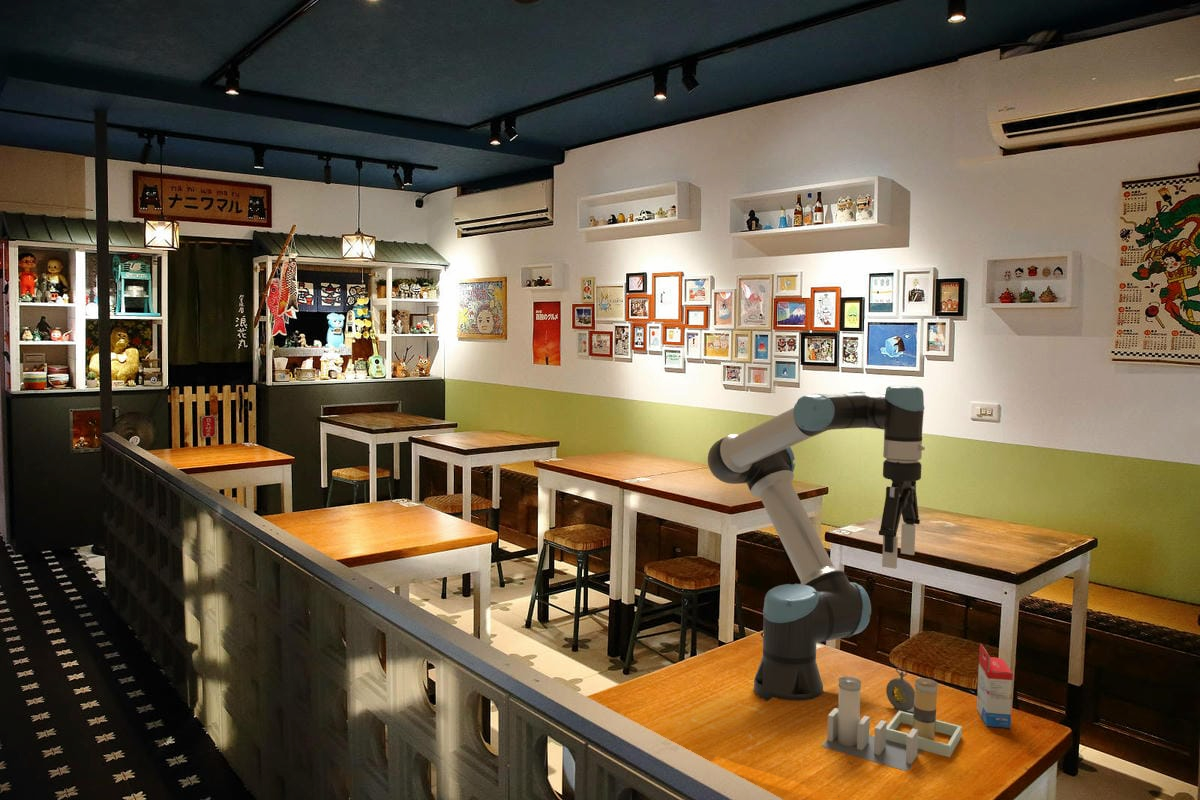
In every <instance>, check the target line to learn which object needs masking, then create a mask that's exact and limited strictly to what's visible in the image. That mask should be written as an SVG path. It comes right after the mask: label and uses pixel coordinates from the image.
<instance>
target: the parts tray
mask: <svg viewBox="0 0 1200 800" xmlns="http://www.w3.org/2000/svg"><path fill="white" fill-rule="evenodd" d="M897 711H898V712H896V714H895V715H894V716H893V718H892V719H891V720H890V721H889V723H888V724H886V740H889V741H893V742H896V743H900V744H904V745H906V743H907V735H908V734H909V733H908V732H904V731H899V730H897V729H898V727H899V726H900V724H904V725H908V726H912V727H913V714H911V713H907V712H903V711H899V710H897ZM962 729H963V726H962V725H957V724H954V723H949V722H945V721H942V720H938V719H936V721H935V733H939V734H944V735H948V736H950V739H949V741H948V742H947V743H945V742H941V741H937V740H935V739H934V740H930V739H927V738H923V737H919V736H918V746H917V748H918V749H922V750H921V751H925V752H929V753H932V754H936V755H940V756H944V757H947V758H951V756H952V754H953V753H954V751H955V749H956V748H957V746H958V744H959V742H960V740H961V739H962V735H963V734H962V732H963V731H962Z"/></svg>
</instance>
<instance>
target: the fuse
mask: <svg viewBox="0 0 1200 800" xmlns="http://www.w3.org/2000/svg"><path fill="white" fill-rule="evenodd" d="M861 689H862V681H861V680H860V679H859V678H857V677H854V676H840V677H839V678H838V700H837V701H838V706H837V709H838V730H837V741H838V742H839V743H840V744H842V745H846V746H856V745H857V733H858V722H859V721H860V720H861V718H860V716H861V712H860V711H861Z"/></svg>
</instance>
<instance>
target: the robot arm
mask: <svg viewBox="0 0 1200 800" xmlns="http://www.w3.org/2000/svg"><path fill="white" fill-rule="evenodd" d="M924 402H925V399H924V391H923V388H921V387H919V386H913V385H912V386H911V385H908V386H907V385H890V386H887V387H886V388H885V394H880V393H871V392H864V391H853V392H852V391H851V392H847V393H813V394H807V395H803V396H800V397H799V398H798V399H797V401H796V403H794V406H793V407H792V408H790V409H788V410H787V411H784V412H782V413H781V414H778V415H776V416H774V417H772V418H771V419H767V420H766V421H764V422H762V423H760V424H758V425H756V426H754V427H752V428H750V429H748V430H746V431H743V432H742V433H740V434H735V433H732V434H729V435H726V436H725V437H723V438H721V439H719V440H717V441H715V442H714V443H713V444H712V445H711V447H710V448H709V451H708V453H707V465H708V468H709V470H710V472H711V474H712V475H713V477H715V479H717V480H719V481H720V482H722V483H725V484H731V485H737V484H746V485H747V487H748V489H749V491H750V493H751V494H752V496H755V497H757V498H759V499H760V501H761V503H762V504H763V507H764V508H765V510H766V513H767V515H768V517H769V519H770V521H771V522H772V525H773V527H774V529H775V531H776V533H777V535H778V537H779V539H780V541H781V544H782V545H783V546H782V547H783V548H784V550H785V552H786V554H787V556H788V558H789V560H790V562H791V564H792V566H793V568H794V570H795V572H796V575H797V577H798V579H799V581H800V583H794V584H791V583H787V584H786V583H785V584H780V585H777V586H774V587H773V588H771V589H769V590H768V591H767V592H766V594H765V597H764V602H763V608H762V616H763V619H762V622H763V623H762V626H763V627H762V631H763V632H762V635H763V636H762V656H761V660H760V663H759V665H758V667H757V670H756V673H755V676H754V679H753V691H754V690H755V691H754V693H755V692H756V693H755V694H756V696H758V695H759V696H760V697H759V696H758V697H759V698H760V699H762V698H763V700H764V699H765V701H766V700H767V701H766V702H769V701H771V699H772V698H774V699H778V700H783V701H798V702H799V701H809V700H813V699H815V698H818V697H821V695H822V694H823V693H824V684H823V681H822V678H821V677H822V676H821V673H820V670H819V667H818V663H817V659H816V658H817V644H819V643H823V642H828V641H832V640H838V639H842V638H844V639H846V638H850V637H852V636H854V635H857V634H859V633H862V632H863V631H864V630H865V629H866V628H867V626H868V625H869V623H870V620H871V615H872V604H871V603H872V602H871V600H870V597H869V594H868V592H867V591H866V589H865V588H864V587H863V586H862V585H860V584H858V583H857V582H854V581H853V582H850V580H849V579H848V577H847V575H846V573H845V571H844V570H843V569H839V568H837V567H835V566H834V564H833V561H832V560H831V558H830V556H829V554H828V552H827V550H826V548H825V547H824V544H823V542H822V540H821V539H820V537H819V534H818V532H817V530H816V528H815V527H814V524H813V523H812V521H811V518H810V517H809V515H808V513H807V511H806V509H805V507H804V505H803V503H802V501H801V500H800V498H799V496H798V493H797V491H796V489H795V488H794V486H793V484H792V482H793V480H794V477H795V475H794V470H795V467H796V462H794V461H795V454H794V451H793V449H792V448H791V447H792V446H795V445H797V444H799V443H801V442H804V441H806V440H808V439H810V438H814V437H815V436H818V435H820V434H822V433H824V432H826V431H831V430H845V429H863V428H864V429H865V428H866V429H867V428H868V429H876V430H877V429H878V430H883V432H884V433H883V434H884V435H883V452H882V453H883V454H882V457H883V458H884V459H885V460H884V461H883V463H882V464H883V465H882V477H883V478H884V479H886V480H890V481H891V486H887V485H886V488H885V501H884V505H883V510H882V511H883V512H882V517H881V523H880V529H879V530H878V535H879V536H882V558H881V559H882V561H881V562H882V563H881V567H882V568H889V569H897V568H898V566H897V565H898V546H899V545H898V544H899V543H898V542H899V539H898V536H897V533H898V529H899V526H900V521H901V517H902V521H903V523H901V534H900V535H901V536H900V554H904V555H910V556H915V553H916V552H915V551H916V549H915V546H916V545H915V544H916V526H917V525H920V523H921V520H920V518H919V517H920V516H919V507H918V506H919V505H918V497H917V482H918V481H920V480H921V478H922V463H921V461H920V460H921V459H922V458H923V457H922V456H923V455H922V454H923V452H922V451H925V449H926V448H925V446H924V445H922V444H923V424H924V413H925V412H924V411H925V405H924V404H925V403H924Z"/></svg>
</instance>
